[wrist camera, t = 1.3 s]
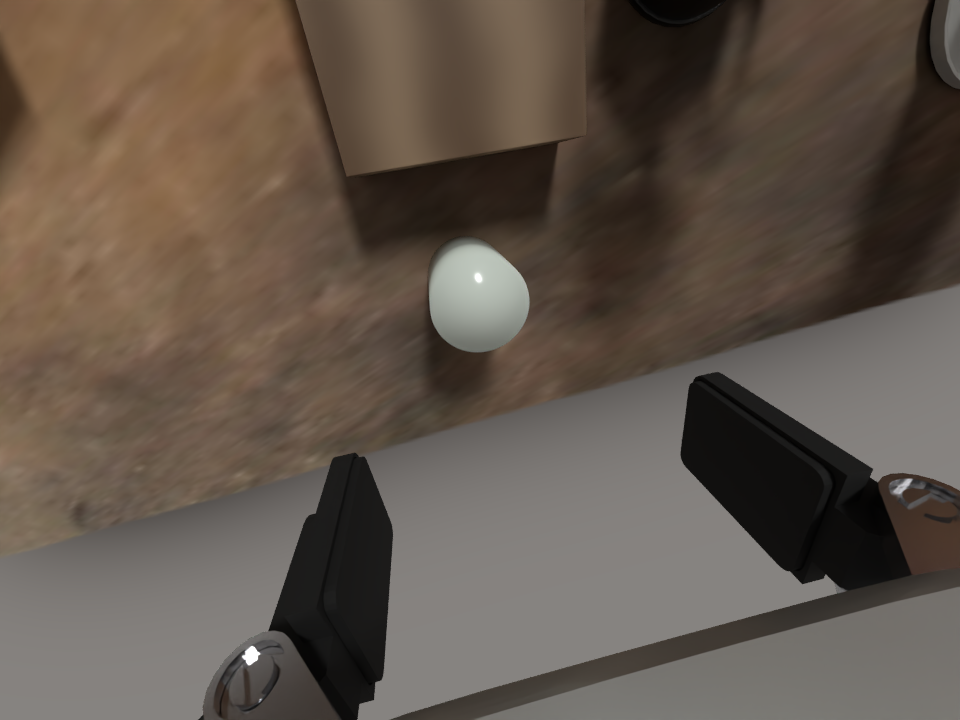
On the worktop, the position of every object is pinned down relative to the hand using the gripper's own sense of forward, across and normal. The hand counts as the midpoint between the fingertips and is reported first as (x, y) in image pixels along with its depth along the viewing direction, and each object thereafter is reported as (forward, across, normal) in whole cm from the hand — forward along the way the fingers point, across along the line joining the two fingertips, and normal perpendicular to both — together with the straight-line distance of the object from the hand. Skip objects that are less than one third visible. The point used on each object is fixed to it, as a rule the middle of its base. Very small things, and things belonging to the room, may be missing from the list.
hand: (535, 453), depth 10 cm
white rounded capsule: (+21, -1, 0) cm, 21 cm away
